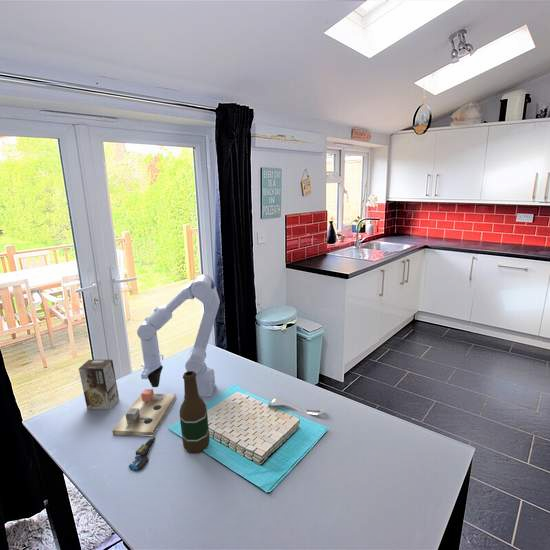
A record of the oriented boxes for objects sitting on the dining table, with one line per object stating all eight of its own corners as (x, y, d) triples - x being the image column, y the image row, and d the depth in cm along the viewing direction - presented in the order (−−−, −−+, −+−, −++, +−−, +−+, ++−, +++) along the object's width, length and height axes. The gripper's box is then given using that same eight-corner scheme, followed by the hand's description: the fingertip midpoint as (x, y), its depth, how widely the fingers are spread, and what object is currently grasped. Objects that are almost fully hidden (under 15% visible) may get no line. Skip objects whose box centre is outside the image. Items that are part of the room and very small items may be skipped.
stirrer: (325, 401, 120) (322, 409, 116) (326, 410, 121) (323, 419, 117) (270, 393, 128) (265, 401, 123) (271, 402, 128) (266, 410, 124)
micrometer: (139, 468, 98) (123, 464, 99) (139, 473, 98) (124, 470, 100) (164, 437, 109) (149, 434, 110) (164, 443, 109) (150, 440, 111)
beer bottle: (215, 440, 109) (208, 369, 103) (199, 458, 102) (191, 383, 96) (194, 433, 112) (186, 364, 106) (177, 450, 106) (168, 377, 99)
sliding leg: (164, 396, 128) (163, 389, 128) (161, 402, 126) (160, 394, 125) (146, 396, 129) (144, 388, 128) (142, 401, 126) (141, 393, 125)
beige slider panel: (176, 397, 131) (174, 385, 130) (152, 436, 112) (150, 422, 111) (141, 396, 132) (140, 384, 131) (113, 434, 113) (110, 420, 112)
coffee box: (120, 399, 131) (113, 359, 127) (110, 410, 125) (103, 368, 121) (96, 398, 132) (89, 358, 128) (85, 409, 126) (77, 368, 122)
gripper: (149, 343, 137) (153, 375, 141) (130, 362, 123) (136, 397, 127) (167, 343, 137) (170, 375, 140) (150, 363, 123) (155, 397, 126)
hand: (155, 386), depth 134 cm, fingers closed
